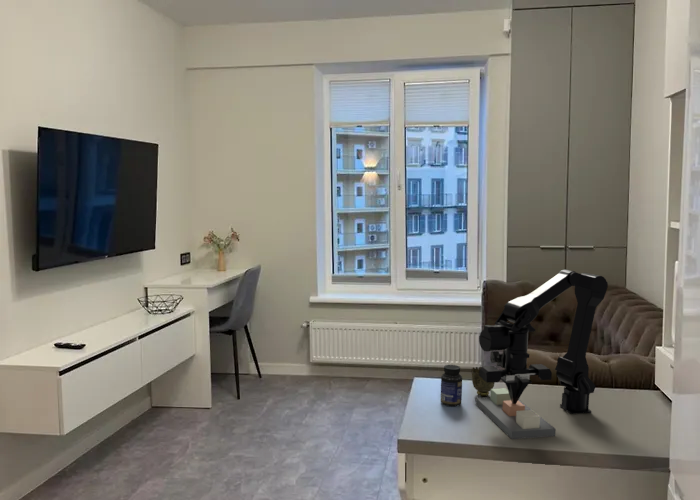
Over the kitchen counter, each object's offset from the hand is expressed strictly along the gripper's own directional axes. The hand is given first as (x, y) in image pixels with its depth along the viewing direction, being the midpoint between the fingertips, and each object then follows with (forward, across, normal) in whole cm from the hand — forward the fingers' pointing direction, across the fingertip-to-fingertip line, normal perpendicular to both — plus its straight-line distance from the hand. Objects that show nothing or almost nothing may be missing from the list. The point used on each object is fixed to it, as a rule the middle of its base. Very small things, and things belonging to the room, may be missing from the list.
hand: (513, 403), depth 167 cm
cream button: (+3, 0, +8) cm, 9 cm away
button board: (+5, 0, 0) cm, 5 cm away
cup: (+5, +1, -19) cm, 20 cm away
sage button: (+3, 0, -8) cm, 9 cm away
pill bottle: (+5, +13, -14) cm, 20 cm away
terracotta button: (+3, 0, 0) cm, 3 cm away
